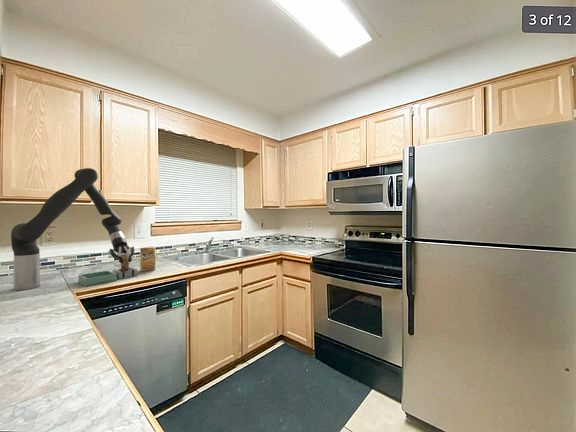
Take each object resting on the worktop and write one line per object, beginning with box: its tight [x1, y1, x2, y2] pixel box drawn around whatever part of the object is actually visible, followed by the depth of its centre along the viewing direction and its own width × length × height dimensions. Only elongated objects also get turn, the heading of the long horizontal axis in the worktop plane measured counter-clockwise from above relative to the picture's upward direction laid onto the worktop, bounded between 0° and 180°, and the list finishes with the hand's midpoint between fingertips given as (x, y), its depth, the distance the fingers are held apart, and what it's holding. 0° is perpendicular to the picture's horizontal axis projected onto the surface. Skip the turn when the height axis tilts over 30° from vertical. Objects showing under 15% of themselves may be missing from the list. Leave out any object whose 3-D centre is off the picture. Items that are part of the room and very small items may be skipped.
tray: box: [77, 270, 118, 287], centre depth 141 cm, size 14×14×4 cm
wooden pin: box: [120, 254, 130, 272], centre depth 153 cm, size 4×4×13 cm
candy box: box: [139, 246, 156, 272], centre depth 169 cm, size 9×4×15 cm, turn 116°
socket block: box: [111, 266, 138, 280], centre depth 153 cm, size 10×10×4 cm
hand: (126, 261), depth 152 cm, fingers closed on wooden pin, 4 cm apart
